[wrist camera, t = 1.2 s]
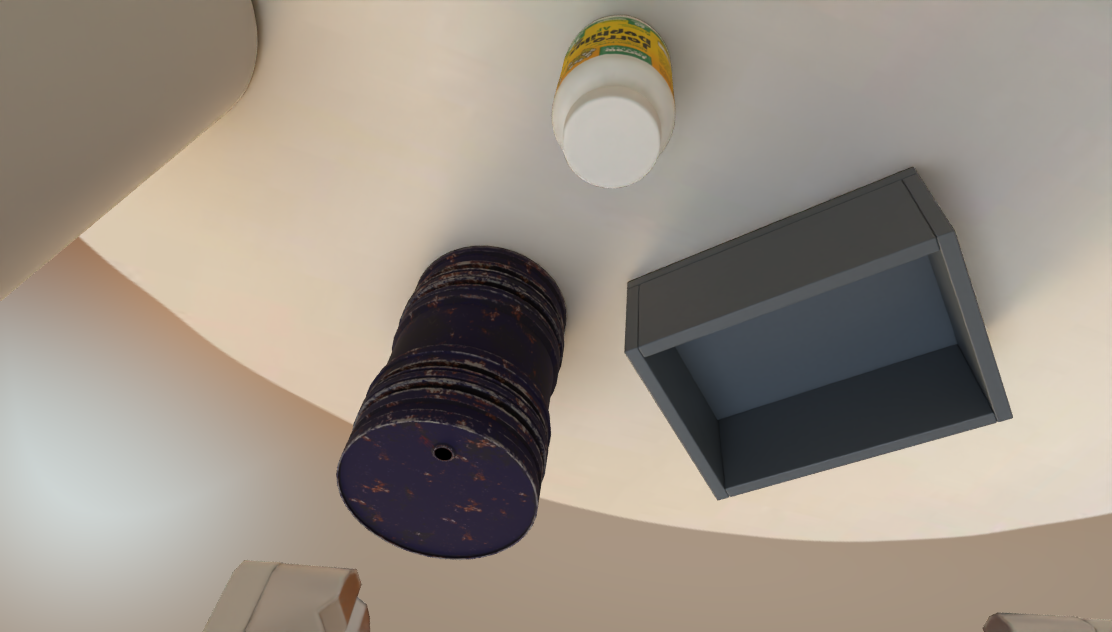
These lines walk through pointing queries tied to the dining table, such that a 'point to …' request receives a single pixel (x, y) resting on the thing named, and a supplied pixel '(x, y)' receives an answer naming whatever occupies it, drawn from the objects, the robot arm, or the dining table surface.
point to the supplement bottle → (614, 101)
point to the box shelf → (817, 340)
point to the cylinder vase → (104, 107)
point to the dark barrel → (460, 410)
